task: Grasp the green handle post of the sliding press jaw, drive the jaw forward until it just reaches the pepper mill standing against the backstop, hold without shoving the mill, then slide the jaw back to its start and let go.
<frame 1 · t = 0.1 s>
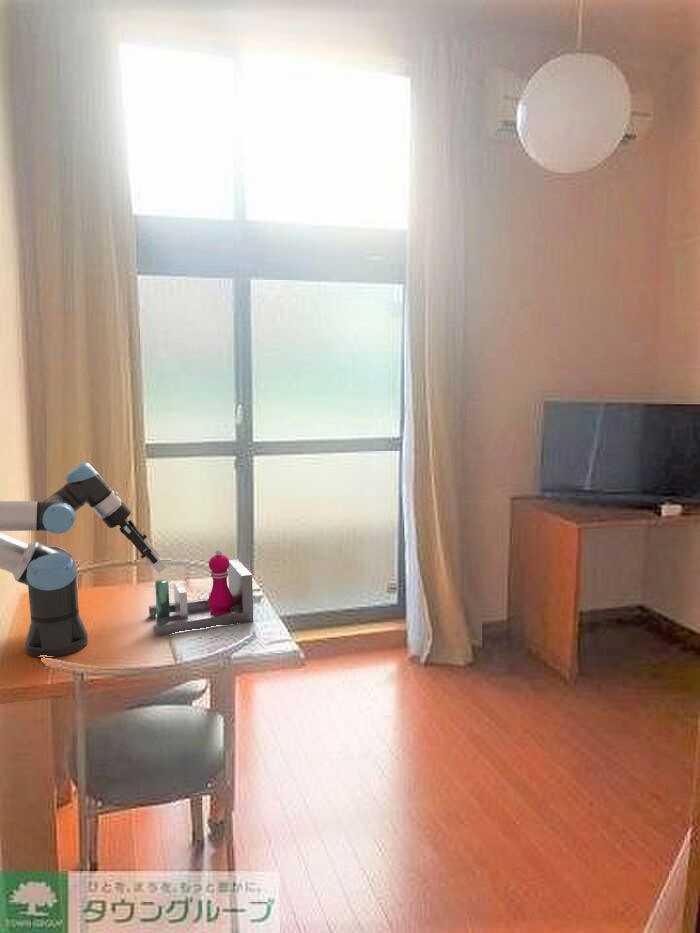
hand: (159, 563, 199), 15 cm above the table, tool tilted 35°, fingers open, 13 cm apart
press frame: (199, 618, 197), on the table
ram: (169, 601, 193), point 6 cm above the table, slide at 0.0 cm
pepper mill: (221, 616, 199), resting in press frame
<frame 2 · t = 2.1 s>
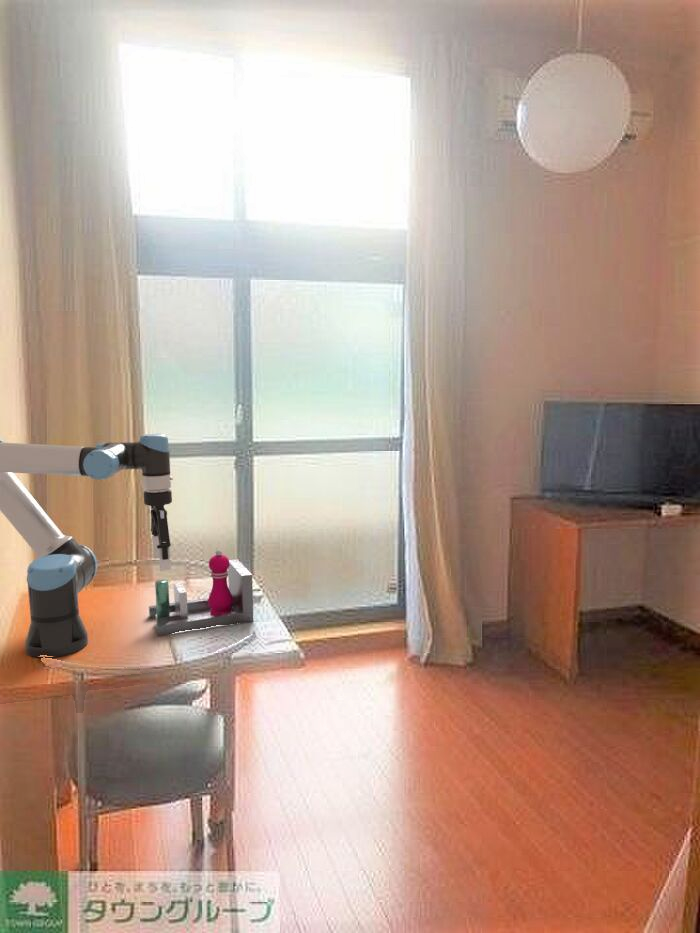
hand: (161, 563, 190), 18 cm above the table, tool pointing down, fingers open, 13 cm apart
nothing on the table moved.
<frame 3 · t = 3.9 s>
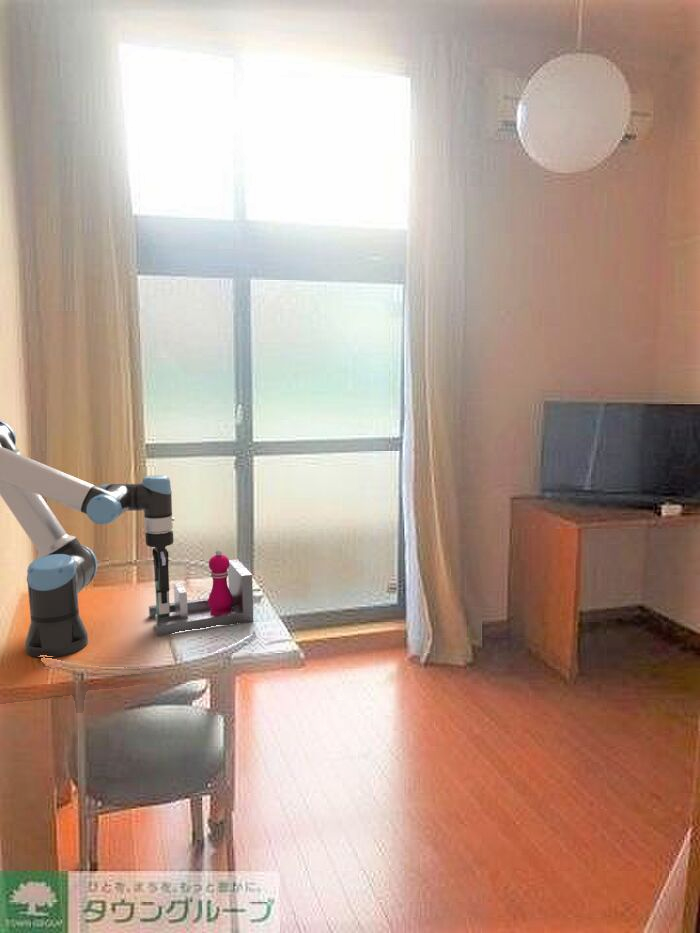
hand: (163, 610, 192), 4 cm above the table, tool pointing down, fingers closed on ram, 4 cm apart
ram: (169, 601, 193), point 7 cm above the table, slide at 0.0 cm, touching gripper
everything else where it was.
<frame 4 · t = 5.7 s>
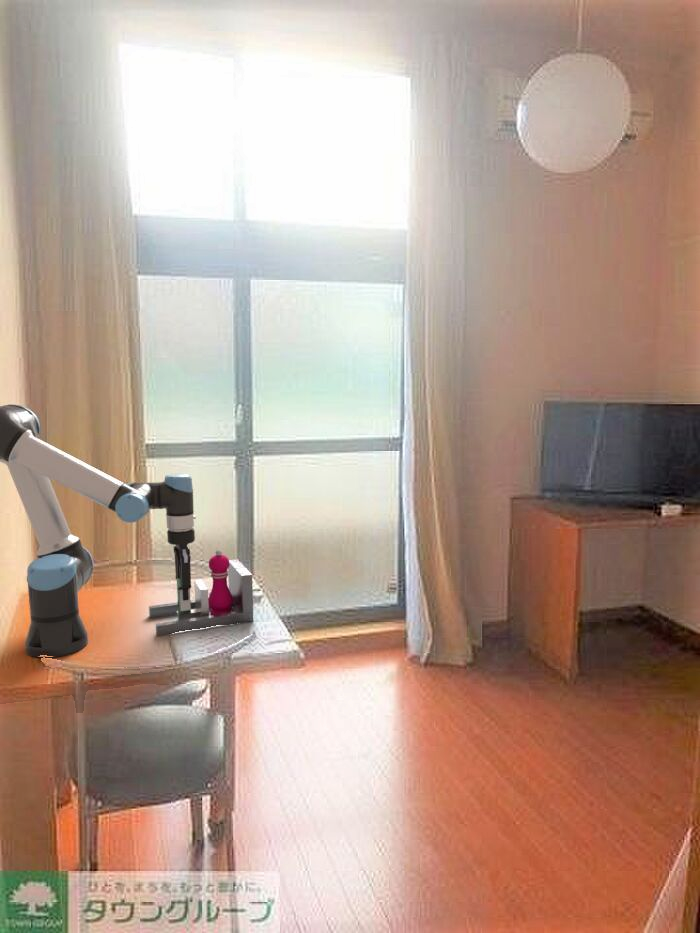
hand: (184, 607, 194), 4 cm above the table, tool pointing down, fingers closed on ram, 4 cm apart
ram: (191, 598, 195), point 7 cm above the table, slide at 6.0 cm, touching gripper
everything else where it was.
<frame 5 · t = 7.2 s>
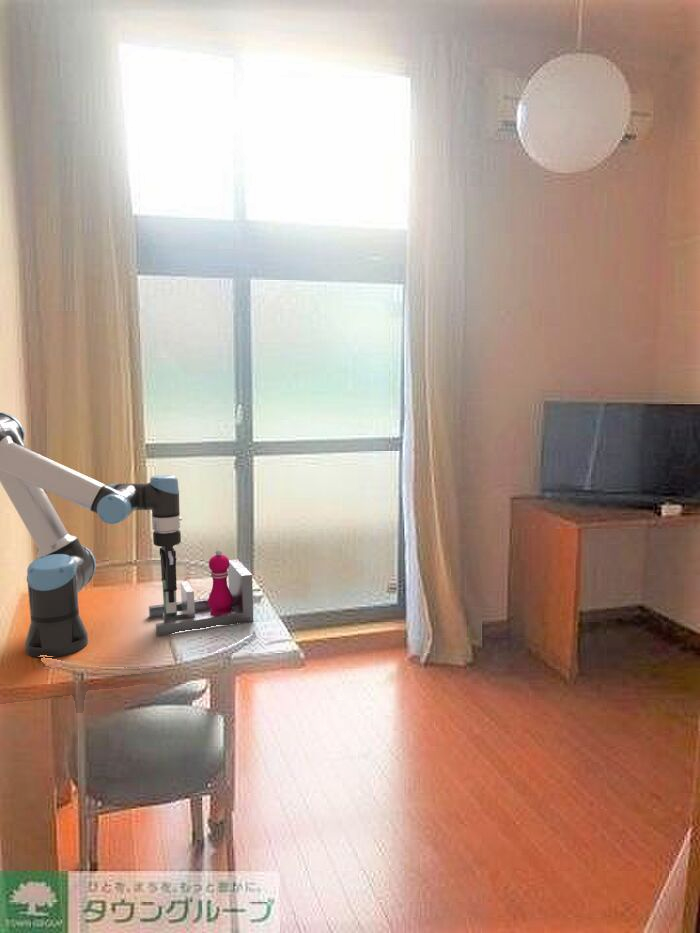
hand: (170, 609, 193), 4 cm above the table, tool pointing down, fingers closed on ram, 4 cm apart
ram: (177, 600, 193), point 7 cm above the table, slide at 2.0 cm, touching gripper
everything else where it was.
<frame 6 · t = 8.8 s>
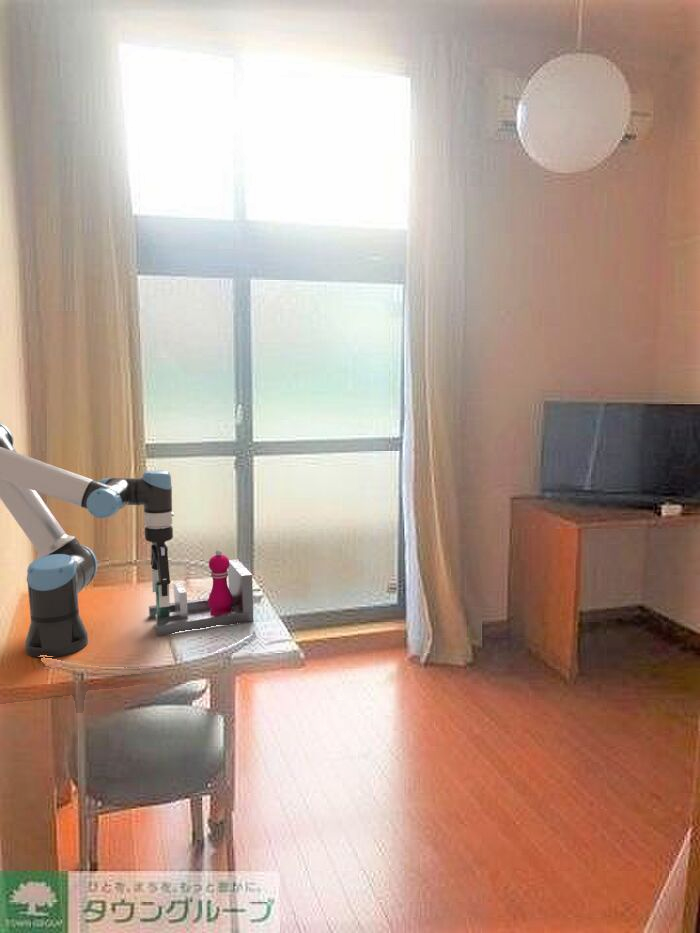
hand: (160, 598, 192), 8 cm above the table, tool pointing down, fingers open, 13 cm apart
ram: (169, 601, 193), point 7 cm above the table, slide at 0.0 cm
everything else where it was.
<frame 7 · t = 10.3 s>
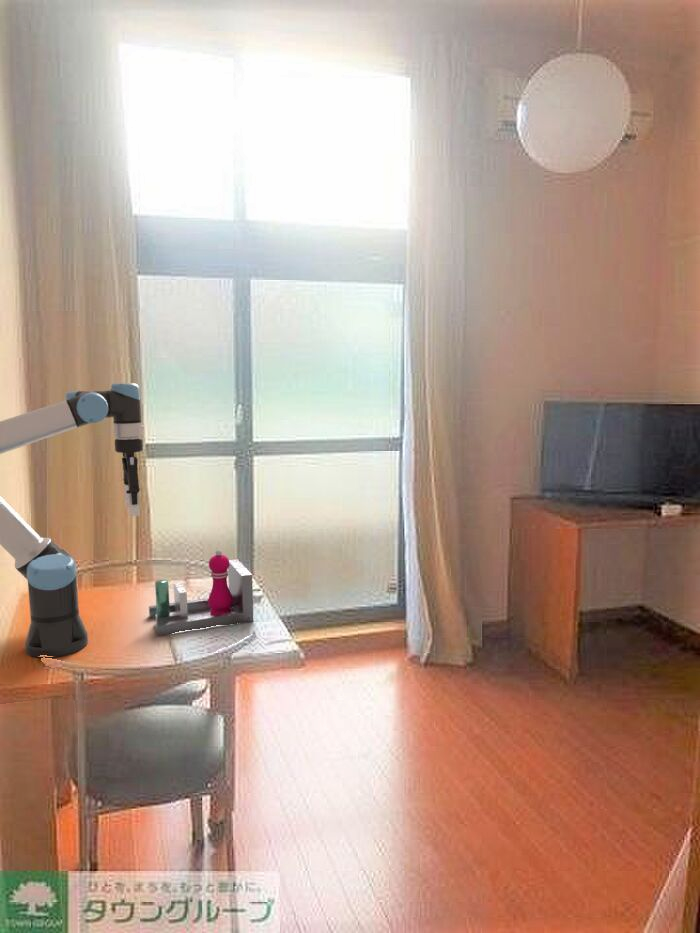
hand: (132, 511, 195), 32 cm above the table, tool pointing down, fingers open, 13 cm apart
nothing on the table moved.
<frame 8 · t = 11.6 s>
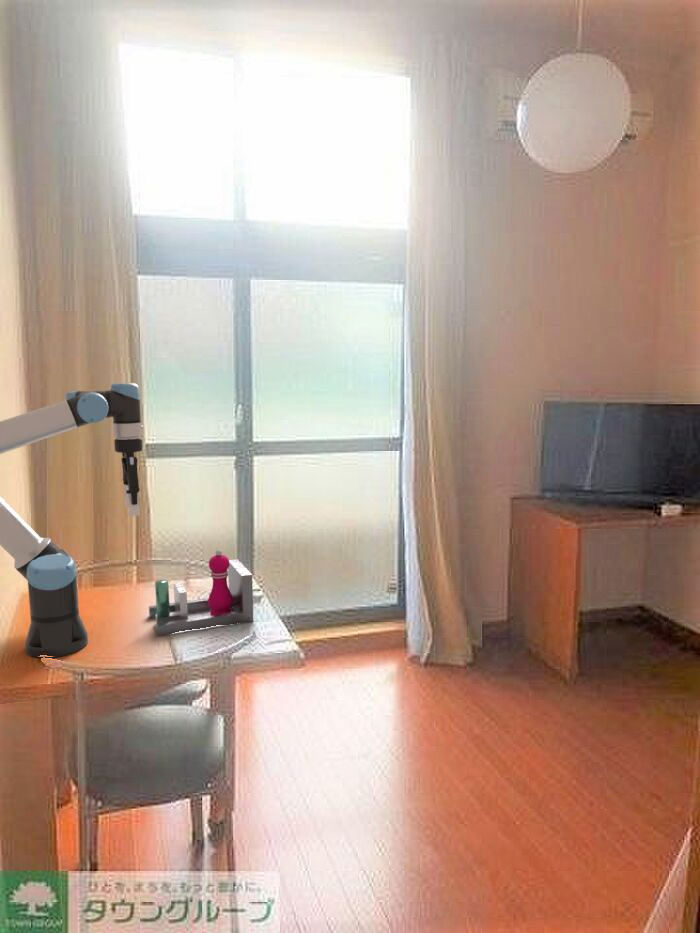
hand: (132, 511, 195), 32 cm above the table, tool pointing down, fingers open, 13 cm apart
nothing on the table moved.
at the end: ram slide at 0.0 cm; pepper mill tilted 0°; pepper mill moved 0.2 cm from its start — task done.
